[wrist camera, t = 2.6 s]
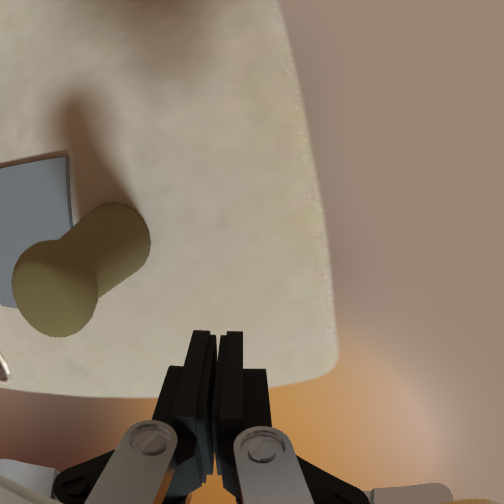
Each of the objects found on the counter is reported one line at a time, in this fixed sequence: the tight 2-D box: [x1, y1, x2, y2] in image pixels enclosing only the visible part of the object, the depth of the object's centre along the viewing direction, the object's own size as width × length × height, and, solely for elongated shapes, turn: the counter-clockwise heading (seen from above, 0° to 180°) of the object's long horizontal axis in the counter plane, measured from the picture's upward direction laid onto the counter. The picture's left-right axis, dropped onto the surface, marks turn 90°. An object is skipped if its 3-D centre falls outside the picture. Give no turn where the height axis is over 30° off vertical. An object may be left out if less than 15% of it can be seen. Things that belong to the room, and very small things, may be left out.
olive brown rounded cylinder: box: [11, 202, 151, 337], centre depth 17 cm, size 6×6×11 cm
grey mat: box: [0, 156, 73, 308], centre depth 21 cm, size 14×12×1 cm
